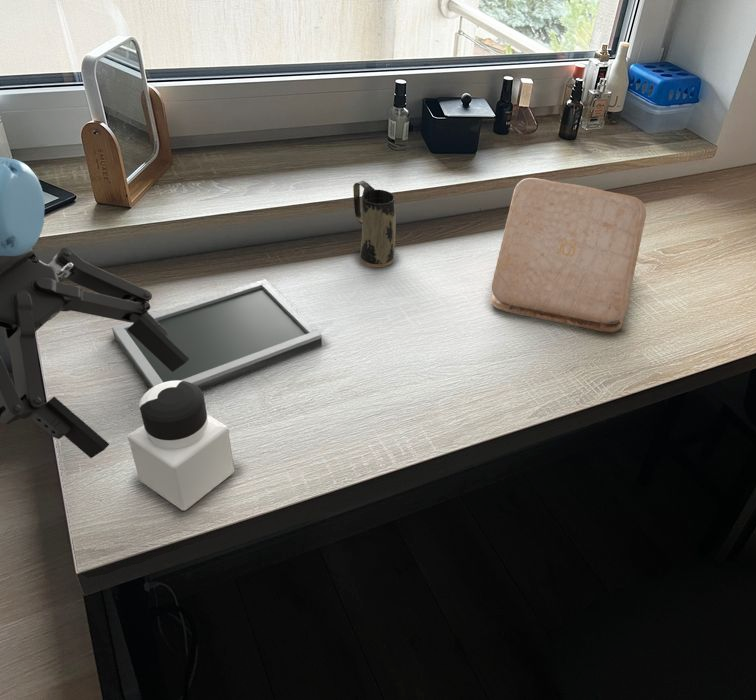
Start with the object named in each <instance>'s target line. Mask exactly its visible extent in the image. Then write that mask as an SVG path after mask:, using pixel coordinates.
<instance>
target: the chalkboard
mask: <svg viewBox="0 0 756 700" xmlns="http://www.w3.org/2000/svg"><path fill="white" fill-rule="evenodd" d="M150 315H151V316H152V317H153V318H154V319H155V320H156V321H157V322H158V323H159V324H160V325H161V326H162V327H163V328H164V329H165V330H166V331H167V333H168V334H167V335H166V337H167V338H168V339H169V340H170V341H171V342H172V343H173V344H174V345H175V346H176V347H177V348H179V349H180V350H181V351H182V352H183V353H184V354H185V355H186V356H187V357H188V358H189V360H188V361H187V362H186V363H185V364H183V365H182V366H180V367H179V368H178V369H176V370H175V371H173V372H172V371H171V370H169V369H168V368H167V367H166V366H165V365H164V364H163V363H162V362H161V361H160V360H159V359H158V358H157V357H156V356H155V355H154V354H152V353H151V352H150V351H149V350H148V349H147V348H146V347H145V346H144V345H143V344H142V343H141V342H140V341H139V340H138V339H137V338H136V337H134V336H133V335H132V334H131V333H130V332H129V331H128V330H127V329H128V328H129V327H130V326H131V325H132V324H134V323H131V322H125V321H124V322H121V323H119V324H115V325H112V326H111V330H112V334H113V338H114V340H115V341H116V343H117V344H118V345H119V347H120V349H121V350H122V351H123V353H124V354H125V355H126V357H127V358H128V360H129V361H130V363H131V365H132V366H133V367H134V368H135V370H136V371H137V373H138V375H139V376H140V377H141V378H142V380H143V381H144V383H145V385H146V386H147V387H148V389H151V388H152V387H154V386H156V385H158V384H161V383H164V382H168V381H186V382H190V383H192V384H194V385H196V386H198V387H199V388H200V389H201V390H202V392H203V393H204V392H206V391H208V390H210V389H213V388H216V387H219V386H221V385H224V384H226V383H228V382H231V381H234V380H236V379H239V378H242V377H244V376H247V375H250V374H252V373H255V372H258V371H260V370H262V369H265V368H268V367H271V366H274V365H275V364H279V363H280V362H284V361H287V360H289V359H291V358H294V357H297V356H300V355H302V354H304V353H307V352H310V351H313V350H315V349H317V348H320V347H322V346H323V334H322V333H321V332H320V331H319V330H318V329H317V328H316V327H315V326H314V325H313V324H312V323H311V322H310V321H309V320H308V319H306V317H305V316H304V315H303V314H301V312H299V310H298V309H296V307H295V306H294V305H292V304H291V303H290V302H289V301H288V299H287V298H285V297H284V296H283V295H282V294H281V293H280V291H278V290H277V289H276V287H274V285H272V284H271V283H270V282H269V281H268V280H267V279H266V278H264V279H260V280H257V281H254V282H250V283H247V284H244V285H241V286H238V287H235V288H232V289H228V290H225V291H222V292H221V291H220V292H218V293H214V294H212V295H208V296H206V297H203V298H199V299H196V300H193V301H189V302H186V303H183V304H180V305H177V306H173V307H170V308H167V309H163V310H160V311H158V312H154V313H151V314H150Z"/></svg>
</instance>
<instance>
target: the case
mask: <svg viewBox="0 0 756 700" xmlns="http://www.w3.org/2000/svg"><path fill="white" fill-rule="evenodd" d="M510 202H511V203H510V206H509V211H508V214H507V217H506V221H505V227H504V231H503V235H502V239H501V244H500V249H499V252H498V257H497V261H496V265H495V269H494V273H493V277H492V281H491V292H492V295H491V304H492V305H493V307H494V308H496V309H497V310H499V311H502V312H506V313H511V314H517V315H520V316H526V317H531V318H535V319H540V320H545V321H551V322H555V323H560V324H564V325H565V324H566V325H570V326H574V327H578V328H583V329H589V330H593V331H599V332H602V333H603V332H605V333H615V332H617V331H619V330H620V329H621V328H622V327H623V322H624V318H625V316H626V314H627V311H628V306H629V301H630V297H631V291H632V287H633V282H634V281H633V280H634V277H635V270H636V265H637V261H638V256H639V251H640V246H641V242H642V236H643V233H644V227H645V222H646V218H647V209H646V206H645V204H644V201H642V200H641V199H640V198H638V197H637V196H633V195H628V194H624V193H617V192H612V191H607V190H604V189H600V188H595V187H590V186H586V185H580V184H574V183H566V182H559V181H554V180H549V179H544V178H536V177H527V178H523V179H522V180H520V181H519V182H518V183H517V184H516V186H515V187H514V190H513V193H512V197H511V201H510Z"/></svg>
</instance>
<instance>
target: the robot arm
mask: <svg viewBox="0 0 756 700" xmlns="http://www.w3.org/2000/svg"><path fill="white" fill-rule="evenodd" d="M45 207H46V205H45V196H44V191H43V188H42V185H41V183H40V180H39V178H38V177H37V175H36V173H35V172H34V171H33V169H31V167H29V166H28V165H27V164H26V163H25V162H22V161H21V160H18V159H15V158H10V157H9V158H8V157H2V156H0V328H2V329H3V334H4V340H5V347H6V348H8V351H9V356H10V357H9V358H10V363H11V369H12V376H13V380H12V378H11V375H10V373H9V371H8V369H7V367H6V364H5V362H4V360H3V358H2V356H1V354H0V423H1V424H3V425H10V424H11V423H13V422H15V421H19V420H20V419H21V420H25V419H31V420H32V421H33V422H35V424H37V425H38V426H39V427H40V428H42V429H43V430H44V431H45V432H46V433H48V435H50V436H51V437H52V438H55V439H57V440H60V439H61V438H63V437H65V438H66V439H67V440H68V441H69V442H71V443H72V444H73V445H74V446H75V447H77V449H79V450H80V451H81V452H82V453H84V454H85V455H86V456H87V457H88V458H90V459H92V458H94V457H95V456H97V455H98V454H100V453H102V452H103V451H105V450H106V449H107V448H108V447H109V446H110V443H109V442H108V441H107V440H105V438H103V437H102V436H100V434H98V432H96V431H95V430H94V429H93V428H92V427H90V426H89V425H88V424H87V423H86V422H84V420H82V419H81V418H80V417H79V416H77V415H76V414H75V413H74V412H73V411H72V410H71V409H70V408H69V407H68V406H66V405H64V403H63V402H61V401H60V400H59V399H58V398H57V397H56V396H53V397H52V398H50V399H49V400H48V401H46V402H45V396H44V389H43V384H42V383H43V382H42V378H41V372H40V365H39V360H38V355H37V347H36V343H35V336H36V332H37V331H38V330H40V329H41V328H42V327H43V326H44V325H46V324H47V322H49V321H51V320H52V319H54V318H55V317H56V316H57V315H58V314H60V312H77V313H80V314H86V315H92V316H96V317H101V318H106V319H111V320H116V321H121V322H124V323H125V322H131V323H134V324H132V325H131V326H130V327H129V328H128V329H127V330H128V331H129V332H130V333H131V334H132V335H133V336H134V337H136V338H137V339H138V340H139V341H140V342H141V343H142V344H143V345H144V346H145V347H146V348H147V349H148V350H149V351H150V352H151V353H152V354H154V355H155V356H156V357H157V358H158V359H159V360H160V361H161V362H162V363H163V364H164V365H165V366H166V367H167V368H168V369H169V370H171V371H172V372H173V371H175V370H176V369H178V368H179V367H180V366H182V365H183V364H185V363H186V362H187V361H188V360H189V358H188V357H187V356H186V355H185V354H184V353H183V352H182V351H181V350H180V349H179V348H177V347H176V346H175V345H174V344H173V343H172V342H171V341H170V340H169V339H168V338H167V337H166V335H167V334H168V333H167V331H166V330H165V329H164V328H163V327H162V326H161V325H160V324H159V323H158V322H157V321H156V320H155V319H154V318H153V317H152V316H151V314H150V313H149V311H150V309H151V304H150V303H149V302H150V301H151V300H152V298H153V294H152V292H151V291H149V290H148V289H146V288H144V287H141V286H139V285H136V284H134V283H132V282H130V281H127V280H126V279H124V278H121V277H120V276H117V275H115V274H113V273H110V272H108V271H107V270H104V269H102V268H99V267H98V266H95V265H93V264H91V263H89V262H86V261H85V260H83V259H82V258H81V257H80V256H78V255H77V254H76V253H74V252H73V250H71V249H69V248H67V247H63V248H61V249H60V250H59V251H58V252H57V253H56V254H55V255H54V256H53V257H52V259H50V261H49V263H45V262H43V261H42V260H40V259H38V258H37V256H36V254H35V252H34V250H33V247H35V245H36V244H37V242H38V241H39V238H40V236H41V234H42V231H43V228H44V224H45ZM60 278H61V279H62V278H66V280H69V281H70V282H72V283H75V284H77V285H73V284H69V283H64V282H60ZM81 287H83V288H85V289H88V290H91V291H88V290H84V289H82V288H81ZM13 381H14V382H13Z"/></svg>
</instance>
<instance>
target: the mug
mask: <svg viewBox="0 0 756 700" xmlns="http://www.w3.org/2000/svg"><path fill="white" fill-rule="evenodd" d="M352 187H353V189H352V190H353V206H354V215H355V219H356V221H357V222H358V223H359V224H361V228H362V229H361V242H360V243H361V244H360V251H359V260H360V262H361V263H362V264H363V265H365V266H367V267H370V268H384V267H388V266H390V265H392V264H393V262H394V259H395V249H396V227H397V225H396V223H397V222H396V200H395V195H394V194H393V193H392V192H390V191H389V190H388V191H387V190H385V189H384V190H383V189H375V188H374V187H372V186H371V185H370V183H368V182H367V181H365V180H361V181H358V182H355V183H354V184H353V186H352ZM361 187H362V188H363V191H362V195H361ZM361 204H362V207H361ZM361 208H362V214H361Z"/></svg>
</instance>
